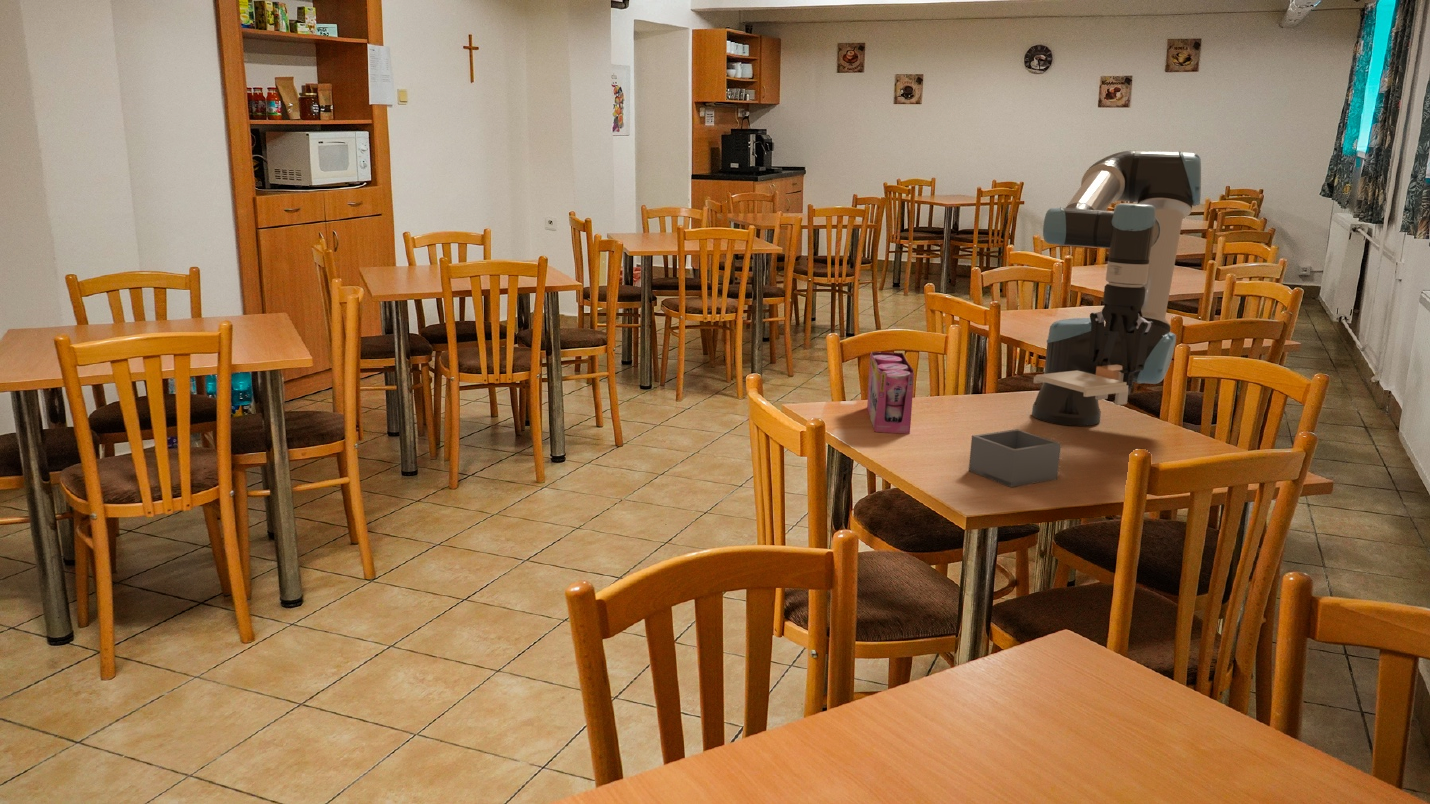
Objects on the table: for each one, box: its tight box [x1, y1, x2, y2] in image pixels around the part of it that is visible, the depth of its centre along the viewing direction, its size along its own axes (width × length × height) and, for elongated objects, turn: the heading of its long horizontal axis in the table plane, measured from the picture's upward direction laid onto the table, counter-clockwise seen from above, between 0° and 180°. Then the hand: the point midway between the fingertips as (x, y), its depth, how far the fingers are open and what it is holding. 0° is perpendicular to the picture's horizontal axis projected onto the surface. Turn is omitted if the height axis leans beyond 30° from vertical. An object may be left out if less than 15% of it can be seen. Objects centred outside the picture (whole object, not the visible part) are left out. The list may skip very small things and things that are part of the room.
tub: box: [968, 428, 1062, 488], centre depth 200 cm, size 12×11×7 cm
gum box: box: [866, 351, 915, 435], centre depth 237 cm, size 24×8×14 cm, turn 176°
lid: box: [1032, 365, 1129, 397], centre depth 206 cm, size 18×13×4 cm
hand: (1110, 401), depth 211 cm, fingers closed on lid, 4 cm apart
